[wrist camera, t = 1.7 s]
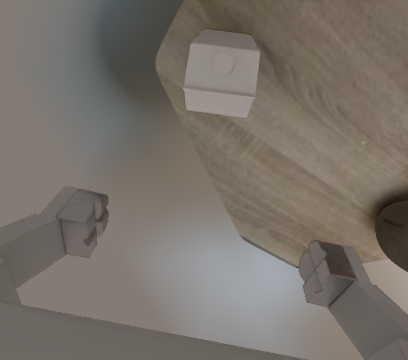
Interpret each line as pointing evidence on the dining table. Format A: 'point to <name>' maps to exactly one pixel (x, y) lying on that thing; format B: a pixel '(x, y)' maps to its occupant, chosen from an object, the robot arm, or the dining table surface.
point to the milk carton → (222, 73)
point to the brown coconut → (394, 233)
